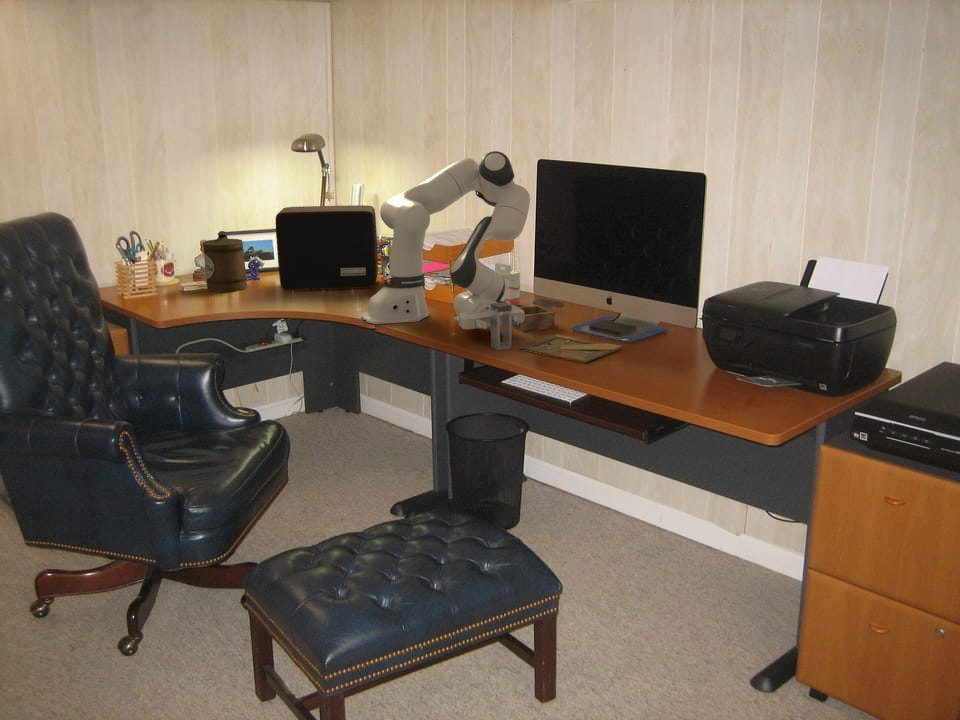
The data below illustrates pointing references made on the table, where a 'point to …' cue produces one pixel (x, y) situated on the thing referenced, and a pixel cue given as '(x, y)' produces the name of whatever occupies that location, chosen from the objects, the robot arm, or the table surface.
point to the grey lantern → (507, 326)
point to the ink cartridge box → (510, 284)
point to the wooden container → (224, 264)
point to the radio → (327, 247)
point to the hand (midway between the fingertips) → (502, 324)
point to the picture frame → (570, 348)
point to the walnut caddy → (536, 318)
